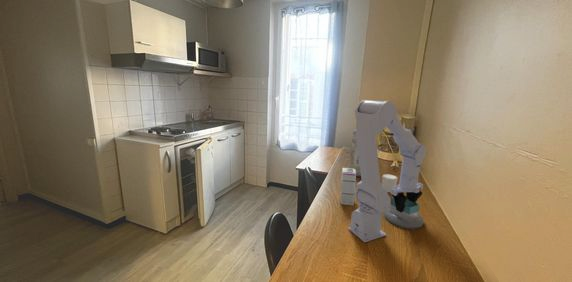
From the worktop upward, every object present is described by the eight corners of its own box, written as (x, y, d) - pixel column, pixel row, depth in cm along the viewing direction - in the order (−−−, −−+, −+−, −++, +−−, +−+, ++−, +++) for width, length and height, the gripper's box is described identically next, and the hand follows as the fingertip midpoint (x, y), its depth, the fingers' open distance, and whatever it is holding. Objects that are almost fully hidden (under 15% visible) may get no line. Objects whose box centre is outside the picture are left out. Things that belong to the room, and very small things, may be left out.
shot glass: (387, 193, 106) (388, 179, 104) (377, 187, 112) (379, 174, 111) (399, 192, 108) (401, 178, 106) (389, 186, 114) (390, 173, 113)
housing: (389, 211, 87) (391, 197, 86) (398, 208, 89) (400, 195, 88) (407, 222, 80) (410, 207, 79) (417, 219, 82) (419, 204, 81)
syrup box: (354, 205, 94) (357, 172, 91) (339, 204, 95) (342, 171, 92) (353, 199, 100) (356, 168, 96) (339, 198, 101) (341, 167, 97)
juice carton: (348, 175, 127) (352, 128, 121) (349, 169, 137) (353, 125, 131) (365, 177, 125) (370, 129, 119) (364, 171, 135) (369, 126, 129)
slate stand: (406, 232, 77) (406, 228, 76) (376, 214, 88) (377, 210, 88) (431, 224, 82) (431, 220, 82) (400, 207, 93) (400, 204, 93)
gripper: (405, 182, 75) (399, 219, 78) (433, 176, 81) (427, 210, 84) (387, 174, 81) (383, 209, 84) (415, 169, 87) (410, 202, 90)
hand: (404, 209), depth 84 cm, fingers closed on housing, 5 cm apart
